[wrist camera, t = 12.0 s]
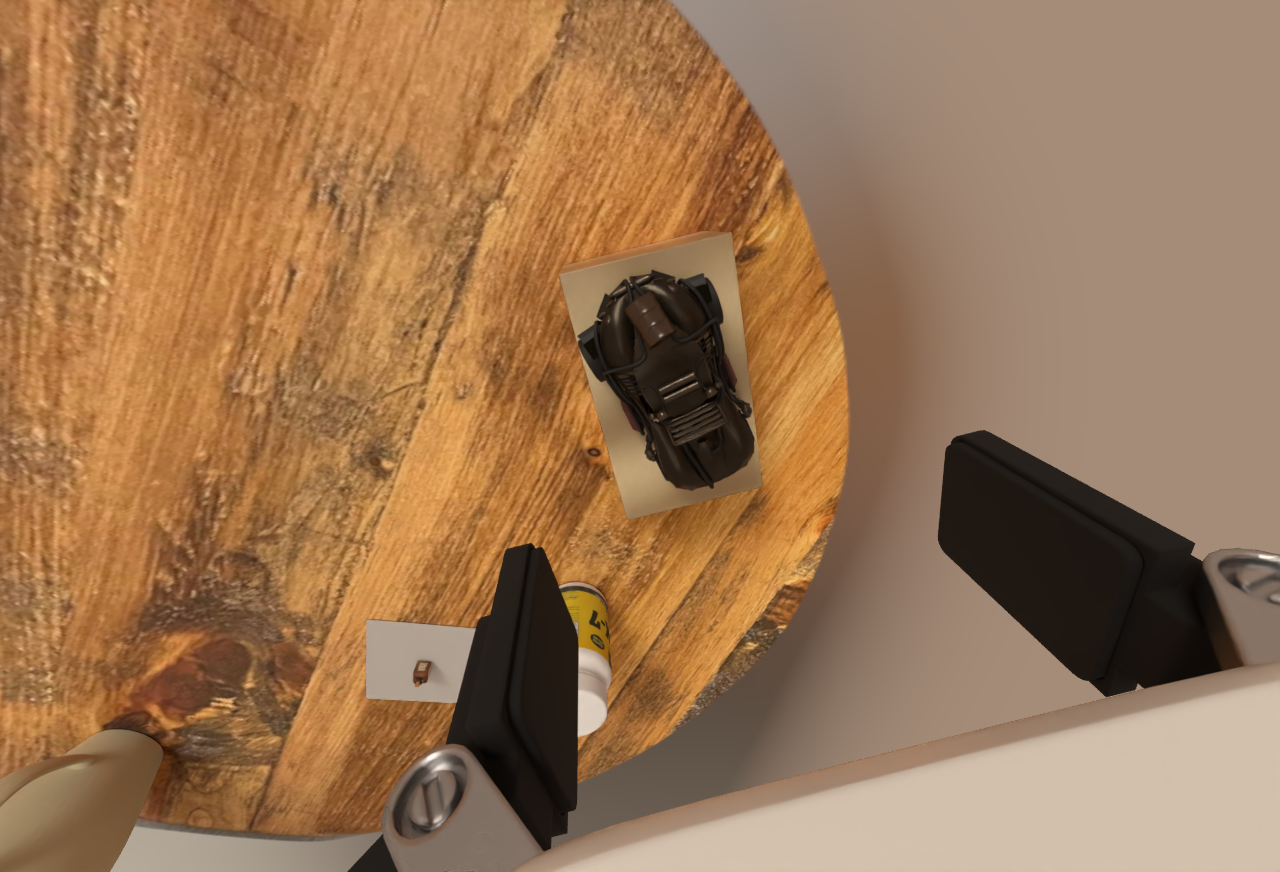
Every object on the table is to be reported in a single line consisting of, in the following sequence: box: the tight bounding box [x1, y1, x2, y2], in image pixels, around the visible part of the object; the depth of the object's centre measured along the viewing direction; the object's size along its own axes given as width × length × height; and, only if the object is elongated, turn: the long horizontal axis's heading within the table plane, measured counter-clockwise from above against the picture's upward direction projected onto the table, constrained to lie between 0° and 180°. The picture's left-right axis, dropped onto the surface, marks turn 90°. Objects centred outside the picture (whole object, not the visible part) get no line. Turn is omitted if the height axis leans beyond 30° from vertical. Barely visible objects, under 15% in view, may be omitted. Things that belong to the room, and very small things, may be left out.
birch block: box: [559, 231, 763, 520], centre depth 25 cm, size 13×8×5 cm, turn 12°
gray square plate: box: [366, 619, 476, 703], centre depth 34 cm, size 8×8×2 cm
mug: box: [0, 729, 164, 872], centre depth 29 cm, size 11×10×12 cm
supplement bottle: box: [559, 582, 611, 737], centre depth 30 cm, size 5×5×8 cm
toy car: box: [577, 270, 755, 491], centre depth 20 cm, size 6×12×4 cm, turn 25°
